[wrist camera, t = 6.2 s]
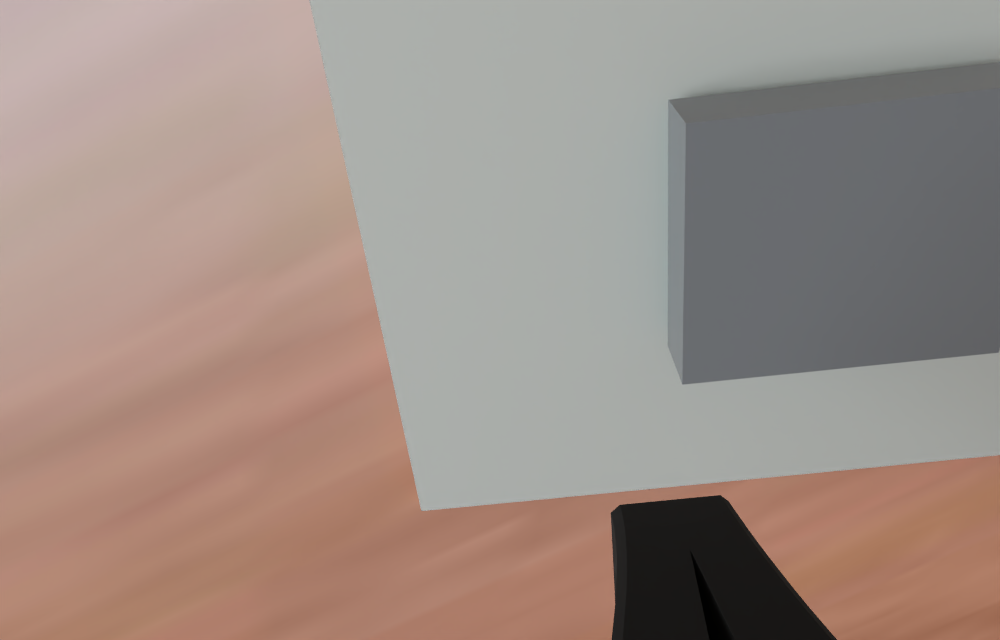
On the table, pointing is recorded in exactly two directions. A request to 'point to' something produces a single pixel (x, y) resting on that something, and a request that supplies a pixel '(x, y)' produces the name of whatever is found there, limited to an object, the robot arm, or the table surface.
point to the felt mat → (603, 239)
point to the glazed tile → (834, 224)
